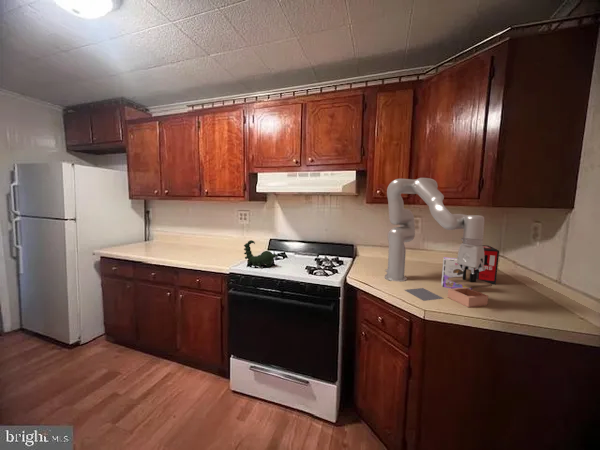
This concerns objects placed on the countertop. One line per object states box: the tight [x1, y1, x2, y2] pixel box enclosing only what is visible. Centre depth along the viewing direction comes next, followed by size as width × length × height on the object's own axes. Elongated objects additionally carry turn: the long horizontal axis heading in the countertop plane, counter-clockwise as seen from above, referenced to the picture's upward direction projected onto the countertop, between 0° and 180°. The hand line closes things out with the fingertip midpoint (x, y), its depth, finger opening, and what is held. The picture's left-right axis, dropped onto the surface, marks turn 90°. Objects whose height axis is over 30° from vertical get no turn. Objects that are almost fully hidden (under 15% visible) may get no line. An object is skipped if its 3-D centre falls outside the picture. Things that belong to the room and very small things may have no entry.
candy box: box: [440, 256, 474, 290], centre depth 131 cm, size 14×6×16 cm, turn 66°
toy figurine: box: [243, 240, 277, 268], centre depth 170 cm, size 9×19×25 cm
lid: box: [448, 269, 493, 289], centre depth 113 cm, size 12×12×6 cm
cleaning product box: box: [476, 244, 500, 285], centre depth 147 cm, size 16×9×20 cm, turn 159°
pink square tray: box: [447, 287, 489, 308], centre depth 114 cm, size 11×11×5 cm
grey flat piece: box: [404, 287, 445, 302], centre depth 122 cm, size 14×12×1 cm
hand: (469, 280), depth 113 cm, fingers closed on lid, 2 cm apart
